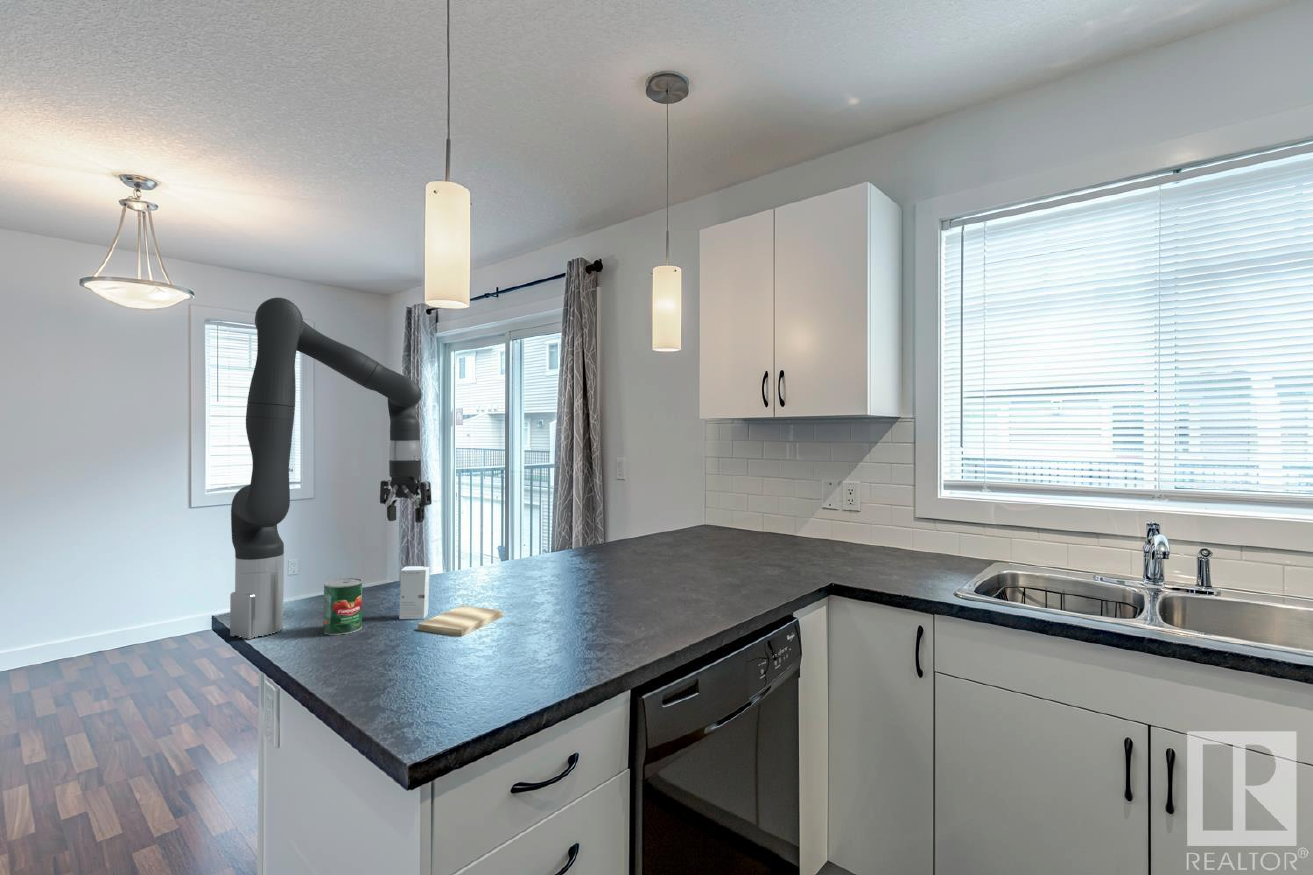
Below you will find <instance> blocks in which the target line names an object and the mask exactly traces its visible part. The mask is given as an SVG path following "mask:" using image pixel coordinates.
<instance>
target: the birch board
mask: <svg viewBox="0 0 1313 875" xmlns="http://www.w3.org/2000/svg"><path fill="white" fill-rule="evenodd" d="M503 612H504V611H503V610H501V609H492V608H487V607H486V608H484V607H477V606H468V605H460V606H459V607H455V608H453V609H451V610H448V611H446V612H443V613H440V614H438V615H436V616H434V617H431V618H429V619H426V620H423V621H421V622H419V623H417V630H418V631H422V632H428V633H436V634H443V635H448V636H449V635H450V636H457V637H464V636H465V635H467V634H469V633H472V632H473V631H476V630H478V629H480V628H482V627H485V626H486V625H488V624H490V623H492V622H493V623H494V621H496V620H498V619H501V618H503V616H504V615H503V614H504V613H503Z"/></svg>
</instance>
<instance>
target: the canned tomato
mask: <svg viewBox="0 0 1313 875" xmlns="http://www.w3.org/2000/svg"><path fill="white" fill-rule="evenodd" d="M362 615H363V579H361V578H357V577H346V578H344V577H343V578H337V579H336V578H335V579H332V580H327V581H326V582H324V583H323V632H324V633H326V634H330V635H329V636H334V635H335V636H341V635H340V634H346V635H349V634H348V633H351V634H353V633H352V632H354V633H357V632H359V631H360V630H361V629H362V628H363V626H362V624H363V622H362V621H363V616H362ZM324 633H323V634H324ZM326 634H325V635H326Z"/></svg>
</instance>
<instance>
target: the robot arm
mask: <svg viewBox="0 0 1313 875" xmlns="http://www.w3.org/2000/svg"><path fill="white" fill-rule="evenodd" d="M254 324H255V327H256V334H257V349H256V351H257V353H256V360H255V366H254V369H253V372H252V376H251V381H250V386H249V389H248V390H249V391H248V395H247V396H248V397H247V400H246V401H247V402H246V403H247V404H246V412H245V430H246V436H247V440H248V446H249V449H250V453H251V459H252V468H251V469H252V470H251V477H250V484H247V485H244V486H243V487H241V488H239V490H237V492H236V493H235V495H234V496H233V498H232V501H231V505H230V506H231V507H230V525H231V542H232V545H233V548H234V558H235V560H234V561H235V563H234V566H235V568H234V570H235V571H234V573H235V574H234V591H232V592H231V593H230V595H229V596H230V597H229V598H230V601H229V602H230V611H229V612H230V614H229V615H230V616H229V618H230V619H229V620H230V621H229V628H230V629H229V636H230V637H234V635H237V636H241V637H243V638H242V639H246V638H247V640H251V639H255V638H259V637H258V636H262V635H267V634H271V633H273V632H277V633H279V632H281V631H282V630H283V629H284V582H285V581H284V572H285V569H284V568H285V563H284V562H285V554H284V553H285V544H284V541H283V540H282V538H281V537H280V534H279V532H278V531H279V530H278V524H280V523H281V522H282V521H283V520H284V519H285V518H286V516H287V514H288V513H289V509H290V506H291V504H290V503H291V490H290V459H291V450H292V442H293V441H292V440H293V439H292V438H293V430H294V424H295V423H294V422H295V410H296V394H297V393H296V392H297V391H296V388H297V387H296V367H295V366H296V357H297V356H296V355H297V352H299V353H301V354H303V355H306V356H308V357H311V359H314V360H316V361H318V362H320V363H321V364H323V365H325V366H327V367H328V368H330V369H332V370H334V371H335V372H337V373H338V374H340V375H342V376H344V377H346V378H347V379H349V380H351V381H353V382H354V383H356V384H358V385H360V386H361V387H363V388H365V389H367V390H370V391H374V392H377V393H379V394H380V395H382V396H384V397H386V399H387V409H388V415H389V421H390V422H389V445H388V446H389V447H388V472H389V473H388V476H389V477H390V478H391V479H386V480H381V481H380V489H379V503H380V504H381V505H382V504H383V505H385V507H386V517H387V521H388V522H394V521H397V503H398V502H399V500H400V499H409V501H411V503H413V505H414V507H415V508H414V521H415V523H416V524H420V523H423V522H424V520H425V519H426V518H425V517H426V516H425V508H426V506H430V505H432V504H433V503H432V501H433V500H432V485H431V484H432V483H431V481H430V480H429V481H428V480H427V481H421V480H420V477H421V475H422V458H421V457H422V455H421V453H422V452H421V449H422V448H421V443H420V440H421V439H420V436H421V435H420V434H421V433H420V431H421V430H420V422H419V420H418V418H417V405H418V403H420V401H421V400H422V396H423V395H422V389H421V387H420V386H419V384H417V382H415V381H414V380H413V379H411V378H409V377H407V376H405V375H403V374H401V373H399V372H396V371H395V370H392V369H390V368H388V367H386V366H384V365H383V364H381V363H380V362H378V361H377V360H375V359H373V358H371V357H370V356H368V355H367V354H365V353H363V352H362V351H360V350H358V349H356V348H353V347H351V346H348V345H346V344H344V343H341V342H339V341H336V340H335V339H332V338H331V337H329V336H326V335H325V334H323V333H321V332H319V331H318V330H316V329H315V328H314V327H312V326H310V325H309V324H308V323H306V321H305V320H304V317H303V313H302V312H301V310H300V309H299V307H298V305H296V304H295V303H294V302H292V301H291V300H289V299H287V298H284V297H272V298H271V297H270V298H269V299H267V300H264V301H263V302H262V303H261V304H260V305H259V306H258V307H257V309H256V312H255V317H254ZM282 628H283V629H282ZM281 629H282V630H281ZM280 630H281V631H280ZM278 631H279V632H278ZM271 635H272V634H271ZM267 636H268V635H267ZM254 637H255V638H254ZM262 637H263V636H262Z"/></svg>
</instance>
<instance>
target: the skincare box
mask: <svg viewBox="0 0 1313 875" xmlns="http://www.w3.org/2000/svg"><path fill="white" fill-rule="evenodd" d="M430 568H431V567H430V566H426V565H425V566H419V565H417V566H416V565H415V566H413V565H412V566H411V565H410V566H409V565H407V566H404V567H402V569H401V570H400V582H399V583H400V584H399V586H400V587H399V588H400V590H399V614H398V619H399V620H424V619H425V618H426V617H427V616H428V614H429V597H430V596H429V594H430V592H429V590H430V589H429V588H430Z"/></svg>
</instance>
